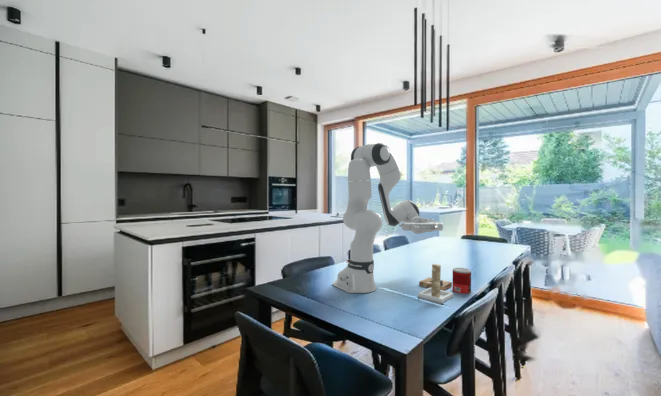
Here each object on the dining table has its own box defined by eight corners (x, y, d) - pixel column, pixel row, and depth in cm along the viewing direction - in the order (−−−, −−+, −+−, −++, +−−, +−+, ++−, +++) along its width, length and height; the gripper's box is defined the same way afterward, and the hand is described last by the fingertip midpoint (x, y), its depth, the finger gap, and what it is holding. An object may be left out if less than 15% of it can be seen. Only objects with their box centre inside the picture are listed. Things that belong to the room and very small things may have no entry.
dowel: (429, 296, 133) (430, 265, 132) (433, 294, 135) (434, 263, 135) (437, 298, 130) (438, 266, 130) (441, 296, 133) (442, 265, 132)
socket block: (419, 287, 148) (419, 277, 148) (428, 282, 155) (429, 273, 155) (442, 293, 140) (442, 282, 140) (451, 288, 147) (451, 278, 147)
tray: (418, 298, 133) (418, 292, 133) (430, 292, 141) (430, 287, 141) (442, 305, 125) (442, 299, 125) (453, 298, 133) (453, 293, 133)
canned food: (472, 296, 136) (473, 272, 136) (454, 295, 138) (454, 271, 137) (468, 290, 143) (468, 268, 143) (451, 289, 145) (451, 267, 145)
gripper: (398, 219, 158) (405, 221, 144) (436, 219, 158) (447, 221, 144) (398, 231, 158) (405, 234, 144) (436, 231, 158) (447, 234, 145)
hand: (426, 228), depth 144 cm, fingers open, 8 cm apart
